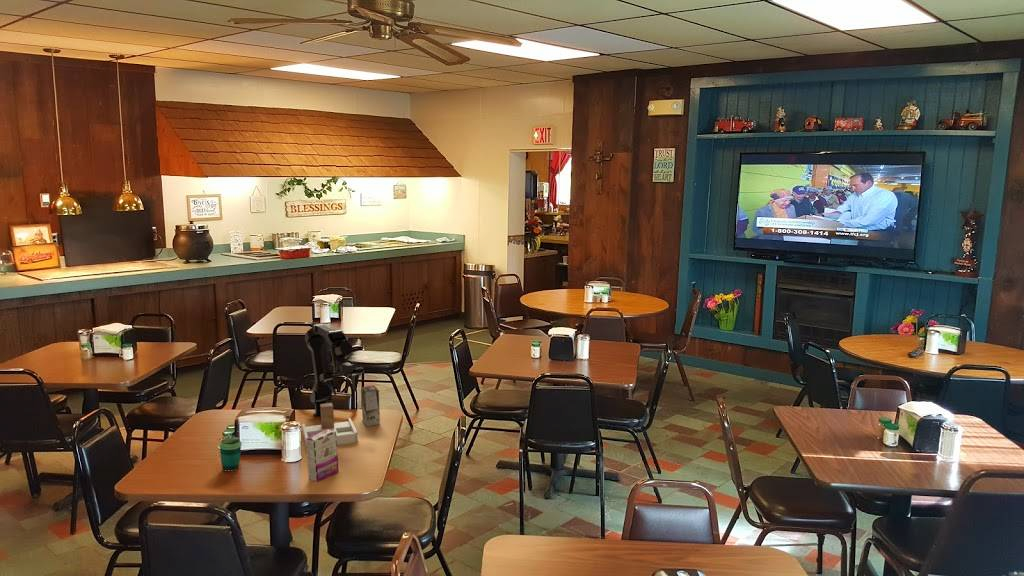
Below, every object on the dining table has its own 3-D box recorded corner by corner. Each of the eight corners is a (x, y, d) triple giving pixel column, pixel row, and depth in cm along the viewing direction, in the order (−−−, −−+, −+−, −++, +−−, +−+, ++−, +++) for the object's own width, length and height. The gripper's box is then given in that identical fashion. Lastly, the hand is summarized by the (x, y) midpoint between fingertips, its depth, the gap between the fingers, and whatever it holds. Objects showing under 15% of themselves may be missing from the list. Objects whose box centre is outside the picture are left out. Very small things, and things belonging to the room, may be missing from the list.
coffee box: (380, 424, 328) (379, 390, 326) (366, 426, 326) (365, 392, 323) (375, 418, 337) (374, 385, 334) (361, 420, 334) (360, 386, 331)
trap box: (302, 432, 319) (302, 423, 318) (350, 426, 326) (350, 417, 326) (306, 449, 299) (306, 440, 299) (357, 442, 307) (357, 433, 306)
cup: (238, 463, 285) (235, 434, 283) (247, 469, 280) (245, 439, 278) (217, 469, 280) (215, 440, 278) (226, 475, 274) (224, 445, 272)
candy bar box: (329, 469, 279) (327, 428, 276) (339, 471, 276) (337, 430, 274) (307, 479, 269) (305, 437, 267) (317, 482, 267) (314, 440, 264)
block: (321, 425, 320) (320, 404, 318) (332, 424, 322) (331, 402, 320) (322, 429, 315) (321, 407, 314) (334, 428, 317) (333, 406, 315)
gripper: (325, 359, 308) (331, 395, 306) (365, 352, 319) (372, 387, 317) (316, 362, 317) (322, 397, 315) (355, 355, 328) (362, 389, 326)
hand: (345, 393), depth 318 cm, fingers open, 9 cm apart
